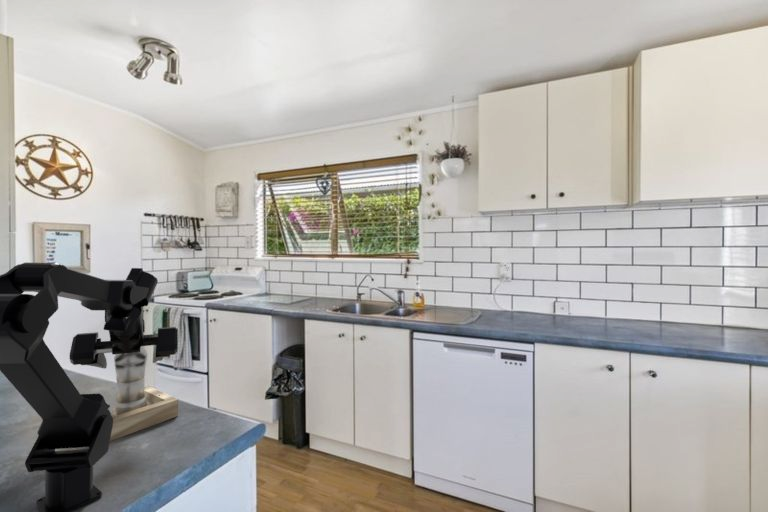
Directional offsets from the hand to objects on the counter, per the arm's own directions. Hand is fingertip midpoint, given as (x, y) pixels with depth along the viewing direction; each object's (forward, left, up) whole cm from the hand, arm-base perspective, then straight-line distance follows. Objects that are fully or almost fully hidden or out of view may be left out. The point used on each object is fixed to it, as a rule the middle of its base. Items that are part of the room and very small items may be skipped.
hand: (130, 363), depth 84 cm
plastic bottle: (0, 0, -13) cm, 13 cm away
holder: (0, 0, -13) cm, 13 cm away
